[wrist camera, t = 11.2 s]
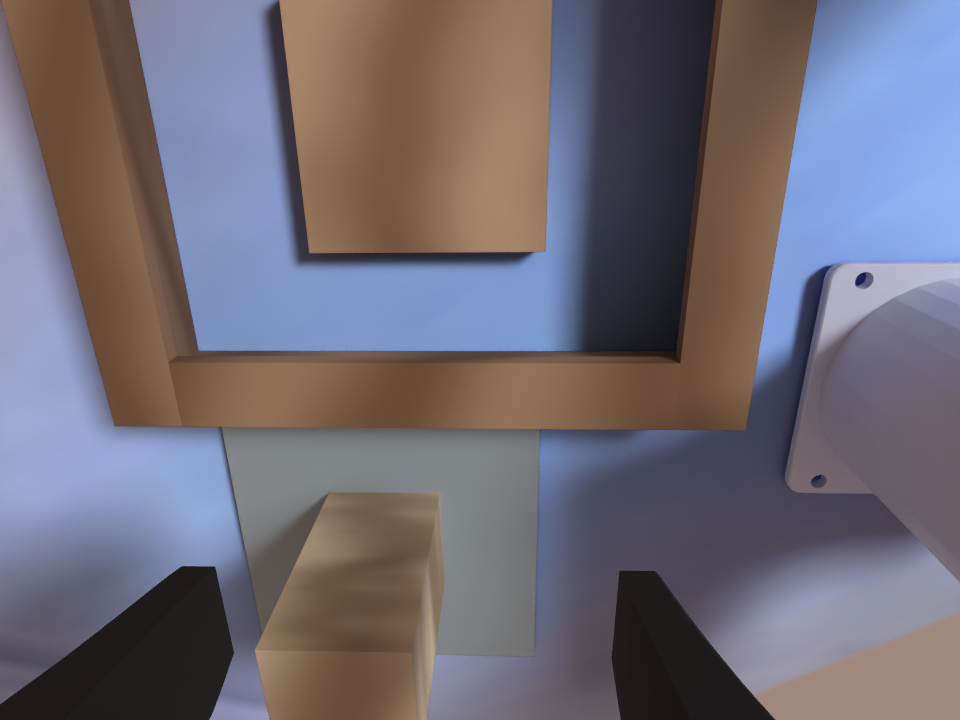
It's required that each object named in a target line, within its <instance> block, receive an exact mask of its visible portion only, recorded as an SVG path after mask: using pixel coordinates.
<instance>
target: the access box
mask: <svg viewBox="0 0 960 720" xmlns="http://www.w3.org/2000/svg"><path fill="white" fill-rule="evenodd" d="M1 1H2V5H3V8H4V12H5V16H6V20H7V23H8V27H9V31H10V35H11V38H12V42H13V46H14V50H15V53H16V57H17V61H18V65H19V68H20V72H21V76H22V80H23V83H24V87H25V91H26V95H27V98H28V102H29V106H30V110H31V113H32V117H33V121H34V125H35V128H36V132H37V136H38V140H39V143H40V147H41V151H42V155H43V158H44V162H45V166H46V170H47V173H48V177H49V181H50V185H51V189H52V192H53V196H54V200H55V204H56V207H57V211H58V215H59V219H60V222H61V226H62V230H63V234H64V237H65V241H66V245H67V249H68V252H69V256H70V260H71V264H72V267H73V271H74V275H75V279H76V282H77V286H78V290H79V294H80V297H81V301H82V305H83V309H84V312H85V316H86V320H87V324H88V327H89V331H90V335H91V339H92V342H93V346H94V350H95V354H96V357H97V361H98V365H99V369H100V373H101V376H102V380H103V384H104V388H105V391H106V395H107V399H108V403H109V406H110V410H111V414H112V418H113V421H114V425H115V426H162V427H309V428H455V429H602V430H746V425H747V419H748V413H749V407H750V401H751V395H752V389H753V383H754V377H755V371H756V365H757V359H758V353H759V347H760V341H761V335H762V329H763V323H764V317H765V311H766V305H767V299H768V293H769V287H770V281H771V275H772V270H773V264H774V258H775V252H776V246H777V240H778V234H779V228H780V222H781V216H782V210H783V204H784V198H785V192H786V186H787V180H788V174H789V168H790V162H791V156H792V150H793V144H794V138H795V132H796V126H797V120H798V114H799V108H800V102H801V96H802V90H803V84H804V78H805V72H806V66H807V60H808V54H809V48H810V42H811V36H812V30H813V24H814V18H815V12H816V6H817V0H716V5H715V13H714V22H713V31H712V40H711V49H710V58H709V66H708V75H707V84H706V93H705V102H704V111H703V119H702V128H701V137H700V146H699V155H698V164H697V173H696V181H695V190H694V199H693V208H692V217H691V226H690V234H689V243H688V252H687V261H686V270H685V279H684V287H683V296H682V305H681V314H680V323H679V332H678V340H677V349H676V352H621V351H198V346H197V341H196V336H195V330H194V325H193V320H192V315H191V310H190V305H189V300H188V295H187V290H186V285H185V280H184V275H183V270H182V265H181V260H180V255H179V250H178V245H177V240H176V235H175V230H174V225H173V220H172V215H171V210H170V205H169V200H168V194H167V189H166V184H165V179H164V174H163V169H162V164H161V159H160V154H159V149H158V144H157V139H156V134H155V129H154V124H153V119H152V114H151V109H150V104H149V99H148V94H147V89H146V84H145V79H144V74H143V69H142V64H141V59H140V53H139V48H138V43H137V38H136V33H135V28H134V23H133V18H132V13H131V8H130V3H129V0H1ZM279 2H280V11H281V19H282V27H283V36H284V44H285V53H286V61H287V70H288V78H289V86H290V95H291V103H292V112H293V120H294V128H295V137H296V145H297V154H298V162H299V171H300V179H301V187H302V196H303V204H304V213H305V221H306V230H307V238H308V246H309V253H430V252H546V224H547V186H548V148H549V110H550V72H551V34H552V0H279Z"/></svg>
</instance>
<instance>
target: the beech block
mask: <svg viewBox="0 0 960 720" xmlns="http://www.w3.org/2000/svg"><path fill="white" fill-rule="evenodd" d="M444 583H445V577H444V559H443V541H442V524H441V506H440V493H403V492H329V494H328V496H327V498H326V500H325V502H324V504H323V506H322V509H321V511H320V513H319V515H318V517H317V519H316V521H315V523H314V526H313V528H312V530H311V532H310V534H309V536H308V538H307V540H306V543H305V545H304V547H303V549H302V551H301V553H300V555H299V557H298V560H297V562H296V564H295V566H294V568H293V570H292V572H291V574H290V577H289V579H288V581H287V583H286V585H285V587H284V589H283V591H282V594H281V596H280V598H279V600H278V602H277V604H276V606H275V608H274V611H273V613H272V615H271V617H270V619H269V621H268V623H267V625H266V628H265V630H264V632H263V634H262V636H261V638H260V640H259V642H258V645H257V647H256V649H255V654H256V658H257V663H258V668H259V672H260V677H261V682H262V686H263V691H264V696H265V700H266V705H267V710H268V715H269V719H270V720H426V719H427V712H428V704H429V697H430V689H431V682H432V674H433V666H434V659H435V651H436V644H437V636H438V629H439V621H440V614H441V606H442V599H443V591H444Z"/></svg>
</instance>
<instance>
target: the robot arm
mask: <svg viewBox="0 0 960 720" xmlns="http://www.w3.org/2000/svg"><path fill="white" fill-rule="evenodd" d="M863 272H866V279H865V281H864V282H863V283H862V284H860V285H857V286H856V285H855V280H856V278H857V276H858V275H859V274H861V273H863ZM817 475H821V477H820V479H818V480H817V481H813V482H811V480H812V478H814V477H815V476H817ZM785 481H786V483H787V485H788V486H789V487H790V489H791V490H793V491H795V492H798V493H852V494H875V495H876V496H877V497H878V499H879V500H880V501H881V502H882V503H883V504H884V505H885V506H886V507H887V508H888V509H889V510H890V511H891V512H892V513H893V514H894V515H895V516H896V517H897V518H898V519H899V520H900V521H901V522H902V523H903V524H904V525H905V526H906V527H907V528H908V529H909V530H910V531H911V532H912V534H913V535H914V536H915V537H916V538H917V539H918V540H919V541H920V542H921V543H922V544H923V545H924V546H925V547H926V548H927V549H928V550H929V551H930V552H931V553H932V554H933V555H934V556H935V557H936V558H937V559H938V560H939V561H940V562H941V563H942V564H943V565H944V566H945V568H946V569H947V570H948V571H949V572H950V573H951V574H952V575H953V576H954V577H955V578H956V579H957V580H958V581H959V582H960V261H860V262H840V263H837V264H835V265H833V266H831V268H830V269H829V270H828V271H827V272H826V275H825V277H824V282H823V287H822V292H821V297H820V302H819V307H818V312H817V317H816V322H815V327H814V332H813V337H812V342H811V347H810V352H809V357H808V362H807V367H806V372H805V377H804V382H803V387H802V392H801V397H800V402H799V407H798V412H797V417H796V422H795V427H794V432H793V437H792V442H791V447H790V452H789V457H788V462H787V467H786V472H785ZM233 654H234V651H233V647H232V642H231V638H230V633H229V628H228V624H227V619H226V615H225V610H224V605H223V601H222V596H221V592H220V587H219V583H218V578H217V573H216V569H215V567H199V566H182V567H180V568H179V569H177V570H176V571H175V572H173V573H172V574H171V575H169V576H168V577H167V578H165V579H164V580H163V581H161V582H160V583H159V584H158V585H156V586H155V587H154V588H153V589H151V590H150V591H149V592H147V593H146V594H145V595H144V596H142V597H141V598H140V599H139V600H137V601H136V602H135V603H134V604H132V605H131V606H130V607H129V608H127V609H126V610H125V611H124V612H122V613H121V614H120V615H119V616H117V617H116V618H115V619H113V620H112V621H111V622H110V623H108V624H107V625H106V626H104V627H103V628H102V629H101V630H99V631H98V632H97V633H96V634H94V635H93V636H92V637H90V638H89V639H88V640H87V641H85V642H84V643H83V644H81V645H80V646H79V647H78V648H76V649H75V650H74V651H72V652H71V653H70V654H69V655H67V656H66V657H65V658H63V659H62V660H61V661H59V662H58V663H56V664H55V665H54V666H52V667H51V668H50V669H48V670H47V671H45V672H44V673H43V674H41V675H40V676H39V677H37V678H36V679H34V680H33V681H32V682H30V683H29V684H28V685H26V686H25V687H24V688H22V689H21V690H19V691H18V692H17V693H15V694H14V695H13V696H11V697H10V698H8V699H7V700H6V701H4V702H3V703H2V704H0V720H209V719H210V717H211V715H212V713H213V710H214V708H215V705H216V702H217V700H218V697H219V694H220V691H221V689H222V686H223V683H224V680H225V677H226V674H227V671H228V668H229V666H230V663H231V660H232V657H233ZM612 663H613V670H614V677H615V684H616V691H617V698H618V704H619V711H620V717H621V720H775V719H774V718H773V717H772V716H771V715H770V713H769V712H768V711H767V710H766V709H765V708H764V707H763V706H762V705H761V704H760V702H758V700H757V699H756V698H755V697H754V696H753V694H752V693H751V692H750V691H749V690H748V689H747V688H746V686H745V685H744V684H743V683H742V682H741V681H740V679H739V678H738V677H737V676H736V675H735V673H734V672H733V671H732V670H731V669H730V667H729V666H728V665H727V664H726V662H725V661H724V660H723V659H722V658H721V656H720V655H719V654H718V653H717V652H716V650H715V649H714V648H713V647H712V645H711V644H710V643H709V642H708V640H707V639H706V638H705V637H704V635H703V634H702V633H701V631H700V630H699V629H698V627H697V626H696V625H695V624H694V622H693V621H692V620H691V618H690V617H689V616H688V614H687V613H686V612H685V610H684V609H683V608H682V606H681V605H680V603H679V602H678V601H677V599H676V598H675V597H674V595H673V594H672V592H671V591H670V590H669V588H668V587H667V585H666V584H665V583H664V581H663V580H662V578H661V577H660V576H659V575H658V574H657V573H656V572H655V571H620V572H619V583H618V595H617V606H616V617H615V628H614V640H613V651H612Z"/></svg>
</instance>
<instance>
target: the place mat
mask: <svg viewBox="0 0 960 720" xmlns="http://www.w3.org/2000/svg"><path fill="white" fill-rule="evenodd" d="M222 432H223V437H224V442H225V447H226V453H227V458H228V463H229V468H230V473H231V478H232V484H233V489H234V494H235V499H236V504H237V509H238V515H239V520H240V525H241V530H242V535H243V541H244V546H245V551H246V556H247V561H248V566H249V572H250V577H251V582H252V587H253V592H254V597H255V603H256V608H257V613H258V618H259V623H260V629H261V634H263V632H264V630H265V628H266V625H267V623H268V621H269V619H270V617H271V615H272V613H273V611H274V608H275V606H276V604H277V602H278V600H279V598H280V596H281V594H282V591H283V589H284V587H285V585H286V583H287V581H288V579H289V577H290V574H291V572H292V570H293V568H294V566H295V564H296V562H297V560H298V557H299V555H300V553H301V551H302V549H303V547H304V545H305V543H306V540H307V538H308V536H309V534H310V532H311V530H312V528H313V526H314V523H315V521H316V519H317V517H318V515H319V513H320V511H321V509H322V506H323V504H324V502H325V500H326V498H327V496H328V494H329V492H403V493H440V506H441V524H442V541H443V559H444V577H445V583H444V591H443V599H442V606H441V614H440V621H439V629H438V636H437V644H436V651H435V655H471V656H515V657H534V643H535V604H536V565H537V526H538V486H539V447H540V429H455V428H309V427H222Z"/></svg>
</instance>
